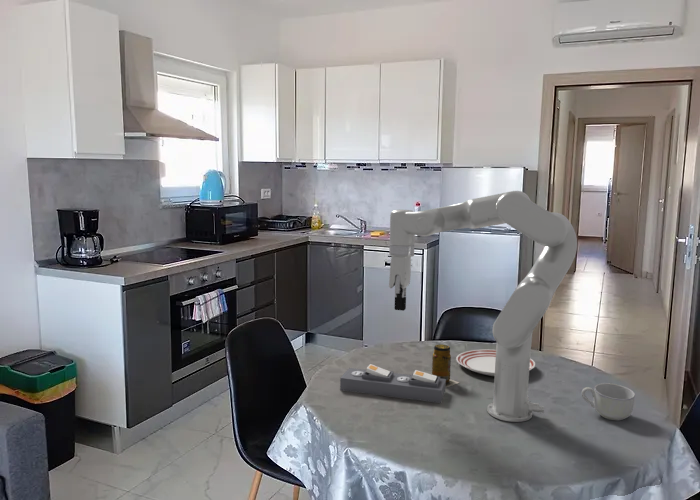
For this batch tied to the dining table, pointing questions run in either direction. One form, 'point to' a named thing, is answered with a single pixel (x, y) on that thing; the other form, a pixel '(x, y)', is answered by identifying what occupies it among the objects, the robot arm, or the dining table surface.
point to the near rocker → (424, 376)
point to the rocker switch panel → (393, 385)
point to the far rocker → (377, 371)
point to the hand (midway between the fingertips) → (400, 309)
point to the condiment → (442, 363)
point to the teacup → (611, 400)
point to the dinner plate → (481, 361)
